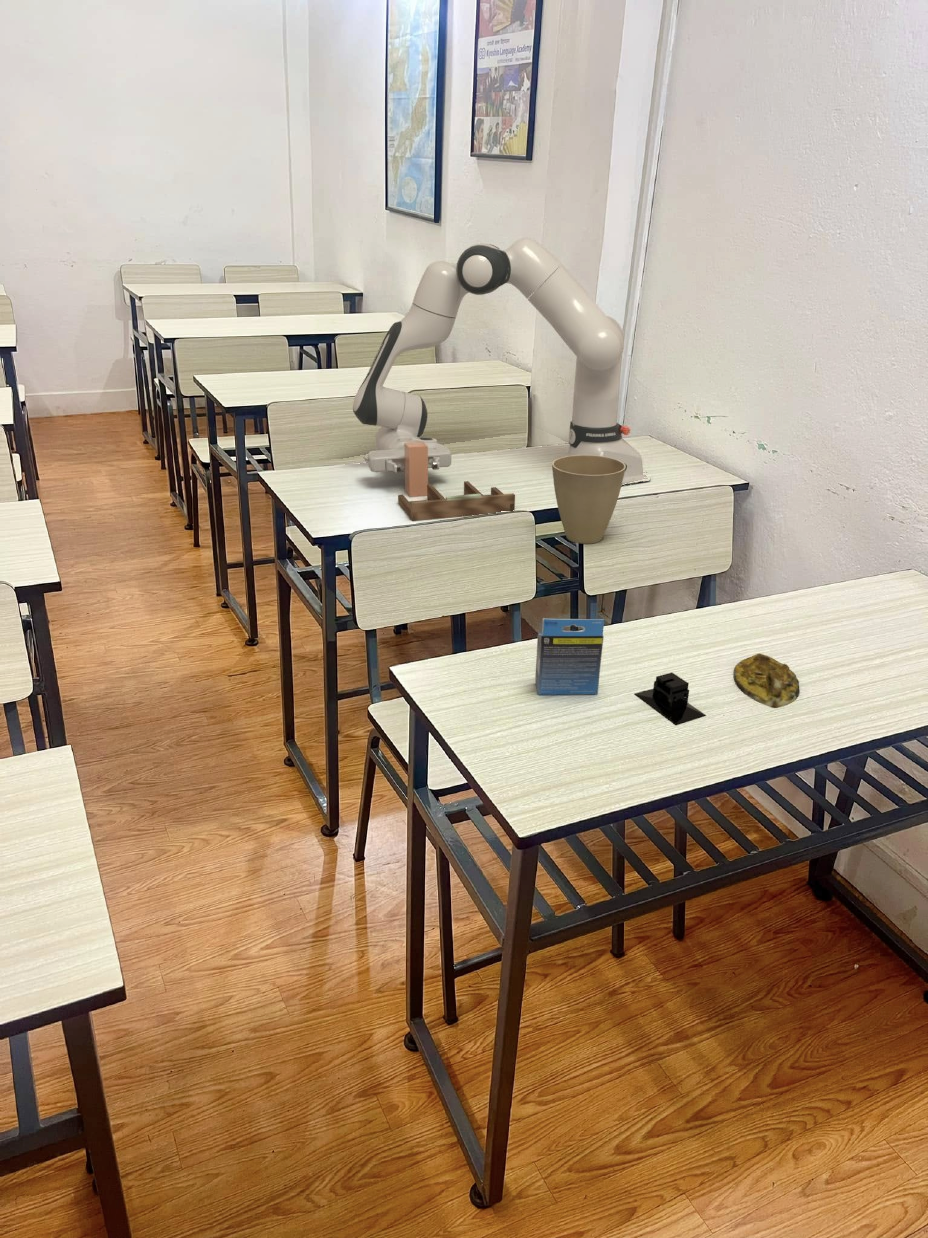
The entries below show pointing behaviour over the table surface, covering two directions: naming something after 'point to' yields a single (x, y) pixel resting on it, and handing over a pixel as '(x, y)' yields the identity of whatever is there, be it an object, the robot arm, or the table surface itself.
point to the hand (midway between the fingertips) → (417, 467)
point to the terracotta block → (416, 469)
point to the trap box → (457, 504)
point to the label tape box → (569, 657)
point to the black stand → (671, 699)
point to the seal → (766, 681)
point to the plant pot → (586, 494)
